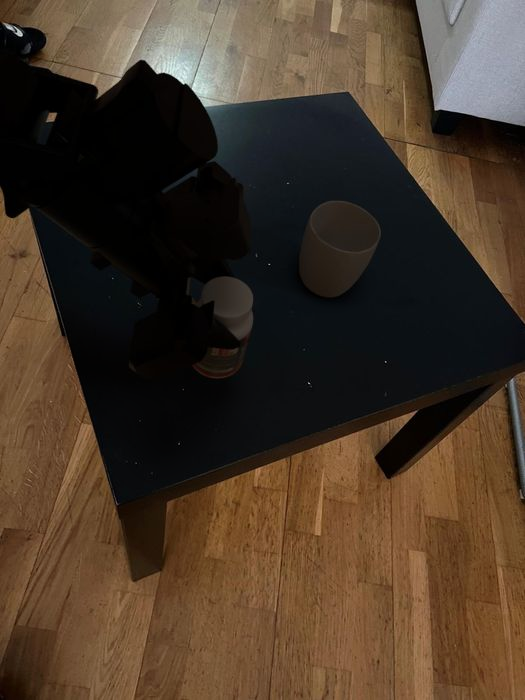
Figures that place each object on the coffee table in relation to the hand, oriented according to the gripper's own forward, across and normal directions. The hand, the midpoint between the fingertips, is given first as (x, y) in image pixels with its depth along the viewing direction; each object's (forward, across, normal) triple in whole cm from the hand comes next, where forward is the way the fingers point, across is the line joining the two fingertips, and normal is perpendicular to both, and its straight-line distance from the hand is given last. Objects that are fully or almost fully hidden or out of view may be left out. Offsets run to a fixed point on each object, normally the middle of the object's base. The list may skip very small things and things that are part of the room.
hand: (237, 320), depth 50 cm
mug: (+19, +20, 0) cm, 28 cm away
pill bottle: (+4, 0, +6) cm, 7 cm away
